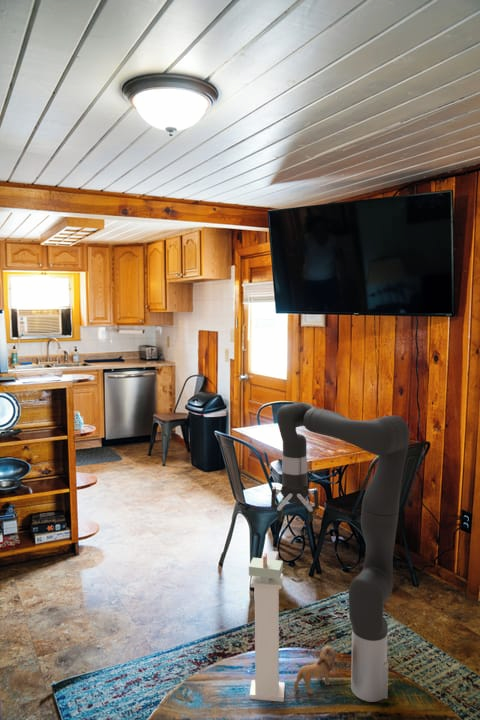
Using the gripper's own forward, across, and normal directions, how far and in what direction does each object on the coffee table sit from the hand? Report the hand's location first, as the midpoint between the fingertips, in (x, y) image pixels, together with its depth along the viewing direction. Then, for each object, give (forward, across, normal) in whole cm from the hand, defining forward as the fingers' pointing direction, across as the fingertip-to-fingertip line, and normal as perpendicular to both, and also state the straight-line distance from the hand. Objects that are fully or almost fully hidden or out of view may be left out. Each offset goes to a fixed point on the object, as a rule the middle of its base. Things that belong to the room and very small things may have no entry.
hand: (295, 521), depth 164 cm
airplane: (+5, +6, +19) cm, 21 cm away
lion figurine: (+38, -6, +19) cm, 43 cm away
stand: (+38, +7, +24) cm, 45 cm away
